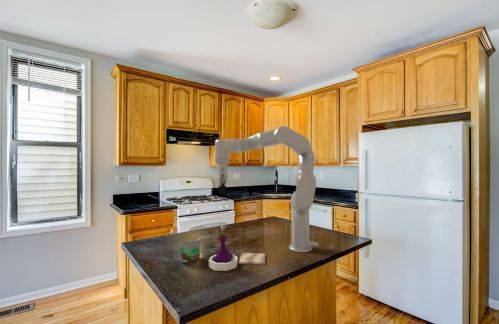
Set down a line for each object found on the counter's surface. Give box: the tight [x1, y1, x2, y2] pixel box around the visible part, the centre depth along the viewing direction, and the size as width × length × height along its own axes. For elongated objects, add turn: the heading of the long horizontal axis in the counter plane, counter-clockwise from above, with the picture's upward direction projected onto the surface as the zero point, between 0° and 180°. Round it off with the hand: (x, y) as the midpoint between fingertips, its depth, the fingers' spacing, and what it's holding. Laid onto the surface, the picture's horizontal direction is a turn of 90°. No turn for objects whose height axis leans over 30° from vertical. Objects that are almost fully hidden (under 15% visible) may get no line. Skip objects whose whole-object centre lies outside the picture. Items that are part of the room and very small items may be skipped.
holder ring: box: [208, 254, 238, 272], centre depth 117 cm, size 12×12×3 cm
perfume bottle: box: [213, 225, 234, 263], centre depth 117 cm, size 8×8×18 cm
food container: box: [179, 236, 203, 265], centre depth 122 cm, size 12×6×10 cm, turn 148°
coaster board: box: [238, 252, 266, 265], centre depth 124 cm, size 12×12×1 cm
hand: (222, 192), depth 141 cm, fingers open, 9 cm apart
